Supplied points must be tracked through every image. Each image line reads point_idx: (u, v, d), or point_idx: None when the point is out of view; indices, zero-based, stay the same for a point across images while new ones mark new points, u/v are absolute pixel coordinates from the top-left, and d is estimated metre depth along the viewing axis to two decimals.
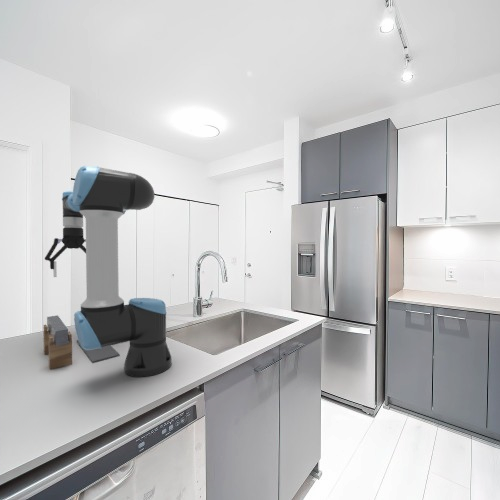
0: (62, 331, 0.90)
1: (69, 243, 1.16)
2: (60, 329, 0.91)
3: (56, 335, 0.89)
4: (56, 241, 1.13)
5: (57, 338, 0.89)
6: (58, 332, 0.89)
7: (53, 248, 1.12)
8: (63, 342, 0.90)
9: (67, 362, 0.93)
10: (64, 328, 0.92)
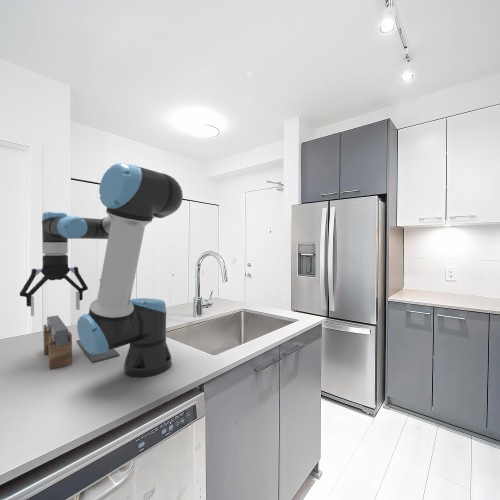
0: (62, 331, 0.90)
1: (50, 274, 0.96)
2: (60, 329, 0.91)
3: (56, 335, 0.89)
4: (34, 272, 0.93)
5: (57, 338, 0.89)
6: (58, 332, 0.89)
7: (30, 281, 0.93)
8: (63, 342, 0.90)
9: (67, 362, 0.93)
10: (64, 328, 0.92)
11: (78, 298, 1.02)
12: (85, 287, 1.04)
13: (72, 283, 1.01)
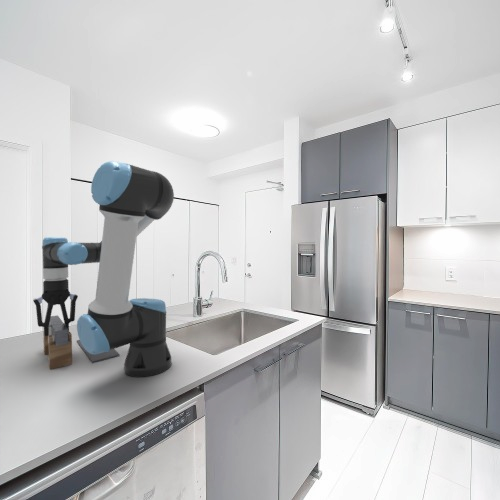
0: (62, 331, 0.90)
1: (52, 300, 0.96)
2: (60, 329, 0.91)
3: (56, 335, 0.89)
4: (37, 303, 0.94)
5: (57, 338, 0.89)
6: (58, 332, 0.89)
7: (39, 311, 0.94)
8: (63, 342, 0.90)
9: (67, 362, 0.93)
10: (64, 328, 0.92)
11: None
12: (72, 318, 1.01)
13: (64, 312, 0.99)
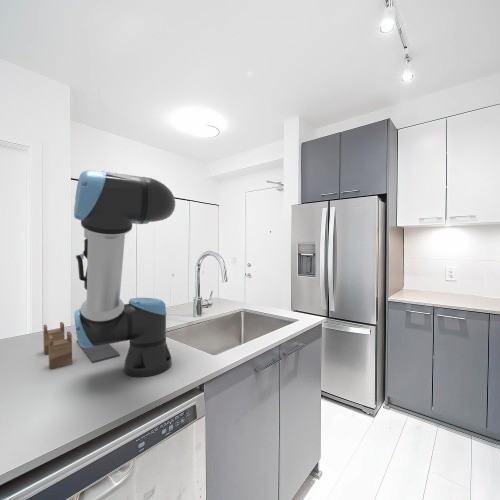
0: None
1: None
2: None
3: None
4: (79, 258, 1.03)
5: None
6: None
7: (81, 266, 1.03)
8: None
9: (67, 362, 0.93)
10: None
11: None
12: None
13: None
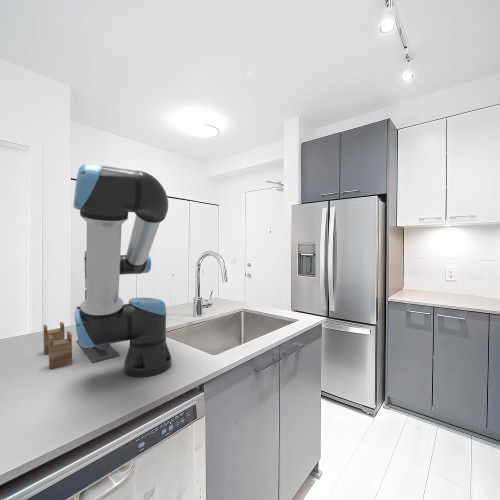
0: None
1: None
2: None
3: None
4: None
5: None
6: None
7: None
8: (105, 346, 0.99)
9: (67, 362, 0.93)
10: None
11: None
12: None
13: None
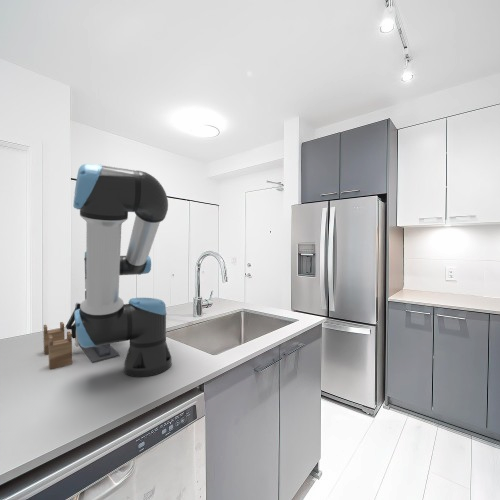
0: None
1: None
2: None
3: (100, 347, 0.98)
4: (78, 307, 1.02)
5: (101, 349, 0.98)
6: None
7: (75, 315, 1.02)
8: (106, 353, 0.99)
9: (67, 362, 0.93)
10: None
11: None
12: None
13: None
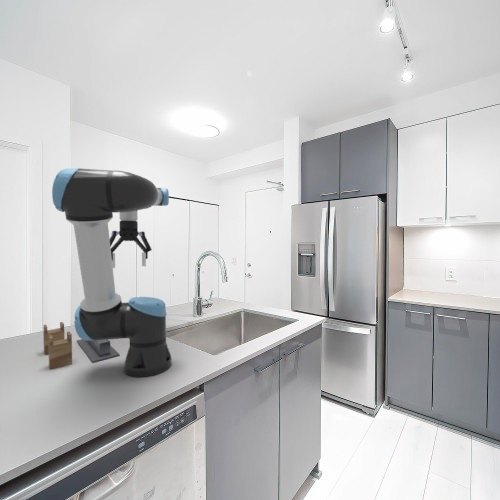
0: (105, 343, 0.99)
1: (126, 235, 1.20)
2: (103, 341, 1.00)
3: (100, 347, 0.98)
4: (115, 233, 1.17)
5: (101, 349, 0.98)
6: (102, 344, 0.99)
7: (112, 240, 1.17)
8: (106, 353, 0.99)
9: (67, 362, 0.93)
10: (106, 340, 1.01)
11: (145, 257, 1.27)
12: (149, 248, 1.28)
13: (140, 244, 1.25)
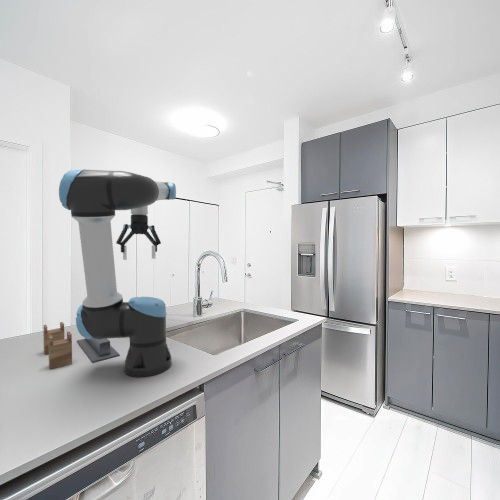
0: (105, 343, 0.99)
1: (137, 229, 1.26)
2: (103, 341, 1.00)
3: (100, 347, 0.98)
4: (126, 227, 1.23)
5: (101, 349, 0.98)
6: (102, 344, 0.99)
7: (124, 233, 1.23)
8: (106, 353, 0.99)
9: (67, 362, 0.93)
10: (106, 340, 1.01)
11: (154, 249, 1.32)
12: (159, 241, 1.34)
13: (150, 237, 1.31)
